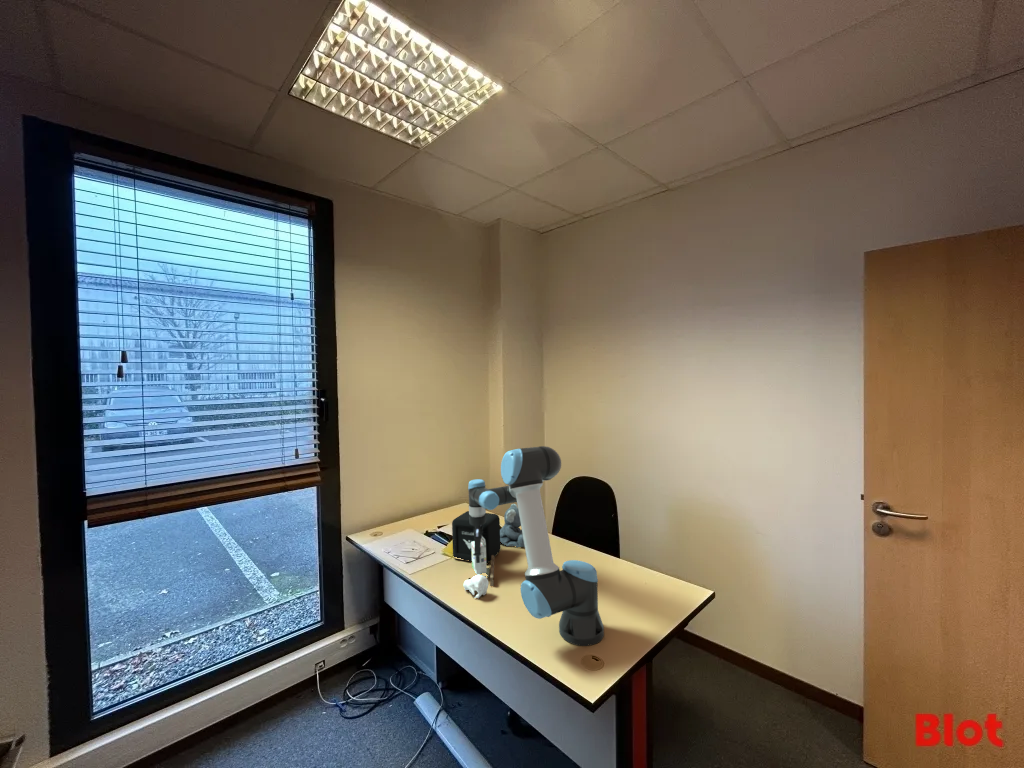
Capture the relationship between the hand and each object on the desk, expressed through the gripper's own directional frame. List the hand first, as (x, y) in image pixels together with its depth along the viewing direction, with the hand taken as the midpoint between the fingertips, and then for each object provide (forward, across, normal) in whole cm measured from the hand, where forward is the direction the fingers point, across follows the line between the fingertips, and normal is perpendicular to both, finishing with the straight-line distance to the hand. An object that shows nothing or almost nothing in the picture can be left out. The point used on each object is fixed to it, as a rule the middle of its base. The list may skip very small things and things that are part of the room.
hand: (478, 564), depth 183 cm
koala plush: (+5, +35, -16) cm, 39 cm away
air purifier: (+5, +18, +2) cm, 19 cm away
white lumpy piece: (+5, -17, +1) cm, 18 cm away
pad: (+4, 0, 0) cm, 4 cm away
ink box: (+3, 0, 0) cm, 3 cm away
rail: (+4, -1, -6) cm, 8 cm away
